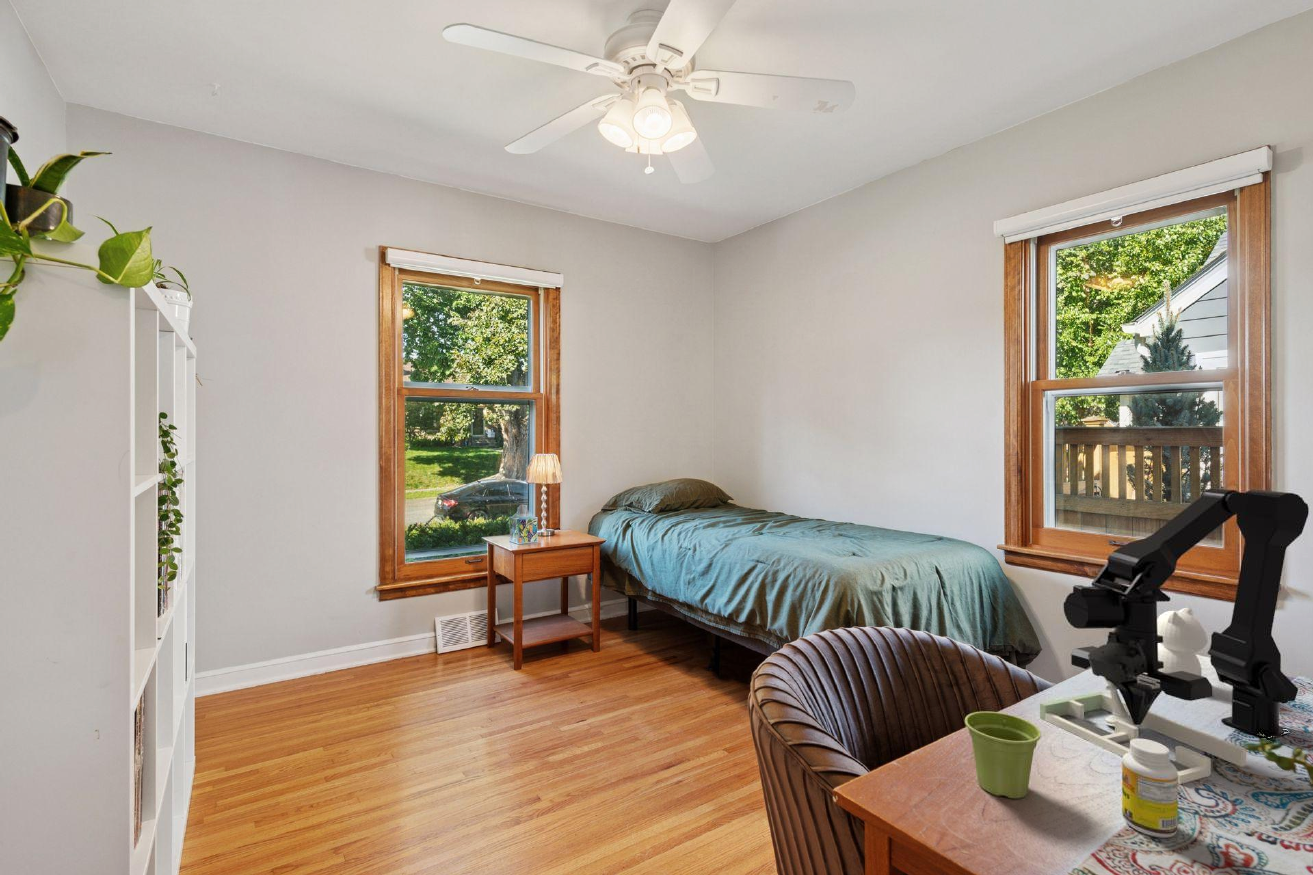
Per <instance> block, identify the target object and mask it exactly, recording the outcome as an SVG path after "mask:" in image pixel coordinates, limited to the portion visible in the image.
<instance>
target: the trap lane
mask: <svg viewBox="0 0 1313 875" xmlns="http://www.w3.org/2000/svg"><path fill="white" fill-rule="evenodd" d="M1121 702H1122V704H1123V706H1124V708H1125V710H1126V712H1128V715H1130V713H1129V710H1128V708H1127V706H1126V703H1125V701H1124V699H1121ZM1101 709H1102V710H1104V711H1107V712H1110V713H1111V714H1112V713H1113V712H1114V709H1113V702H1112V696H1111V694H1108V693H1105V692H1102V691H1096V692H1092V693H1086V694H1082V695H1076V696H1071V697H1067V698H1066V697H1065V698H1061V699H1057V700H1050V701H1046V702H1040V703H1039V718H1040V719H1042V720H1044V721H1046V722H1048V723H1050V724H1053V725H1054V726H1056V727H1059V728H1061V729H1063V730H1065V731H1067V732H1070V733H1072V734H1073V735H1076V736H1077V737H1080V738H1082V739H1084V740H1086V741H1088V742H1090V743H1093V744H1095V745H1097V746H1099V747H1101V748H1103V749H1105V750H1107V751H1109V752H1111V753H1113V754H1115V755H1118V756H1119V757H1122V758H1123V756H1124V755H1125V754H1126V753H1129V752H1130V750H1129V749H1130V741H1131V740H1132V739H1139V727H1138V726H1133V725H1130V724H1128V723H1126V722H1123V721H1121V720H1116V721H1115V726H1114V733H1111V731H1107V730H1105V729H1103V728H1101V727H1099V726H1096V725H1094V724H1092V723H1089V722H1087V721H1085V713H1086V712H1091V711H1096V710H1101ZM1140 726H1142V727H1145V728H1148V729H1150V730H1152V731H1155V732H1157V733H1160V734H1162V735H1164V736H1166V737H1169V738H1171V739H1174V740H1176V741H1178V742H1181V743H1184V744H1185V745H1188V746H1190V747H1193V748H1196V749H1198V750H1200V751H1203V752H1205V753H1207V754H1210V755H1212V756H1214V757H1217V758H1220V759H1222V760H1224V761H1226V762H1229V763H1231V764H1233V765H1237V766H1238V767H1241V768H1242V767H1246V766H1247V749H1246V748H1244V747H1243V746H1240V745H1237V744H1235V743H1233V742H1230V741H1227V740H1224V739H1222V738H1220V737H1217V736H1215V735H1211V734H1209V733H1206V732H1204V731H1201V730H1199V729H1197V728H1193V727H1191V726H1189V725H1186V724H1183V723H1181V722H1178V721H1176V720H1174V719H1171V718H1168V717H1166V716H1164V715H1161V714H1158V713H1155V712H1153V711H1151V710H1149V711H1148V713H1147V715H1146V716H1145V718H1144V720H1143V722H1142V723H1141V725H1140ZM1174 758H1175V760H1173V759H1170V763H1172V764H1173V765H1174V766H1175V767H1176V769H1177V772H1178V784H1179V785H1182V784H1186V783H1189V782H1190V783H1191V782H1193V781H1196V780H1200V779H1203V778H1206V777H1210V776H1211V774H1212V773H1211V765H1212V764H1211V762H1212V761H1211V758H1210V757H1208V756H1206V755H1204V754H1201V753H1199V752H1196V751H1194V750H1192V749H1189V748H1187V747H1184V746H1182V745H1177V746H1175V757H1174Z"/></svg>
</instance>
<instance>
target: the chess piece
mask: <svg viewBox="0 0 1313 875" xmlns="http://www.w3.org/2000/svg"><path fill="white" fill-rule="evenodd" d="M1103 678H1104V680H1105V682H1106V683H1107V684H1108V685H1107V686H1105V690H1107V691H1108V690H1109V691H1110V696H1112V702H1113V709H1114V712H1113V713H1111V714H1113V715H1109V716H1108V717H1106V718H1105V724H1106V726H1110V727H1115V721H1116V720H1121V721H1123V722H1126V723H1128V724H1130V725H1133V726H1135V727H1137V725H1135V724H1134V723H1133V720H1132V718H1131V715H1128V712H1126V710H1125V708H1124V706H1123V704H1122V702H1121V700H1122V699H1121V697H1120V695H1119V692H1118V690H1119V689H1118V688H1117V687H1116V686H1115V685H1114V684H1113V683H1111V682H1110V681H1107V680H1106V679H1105V677H1103Z"/></svg>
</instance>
